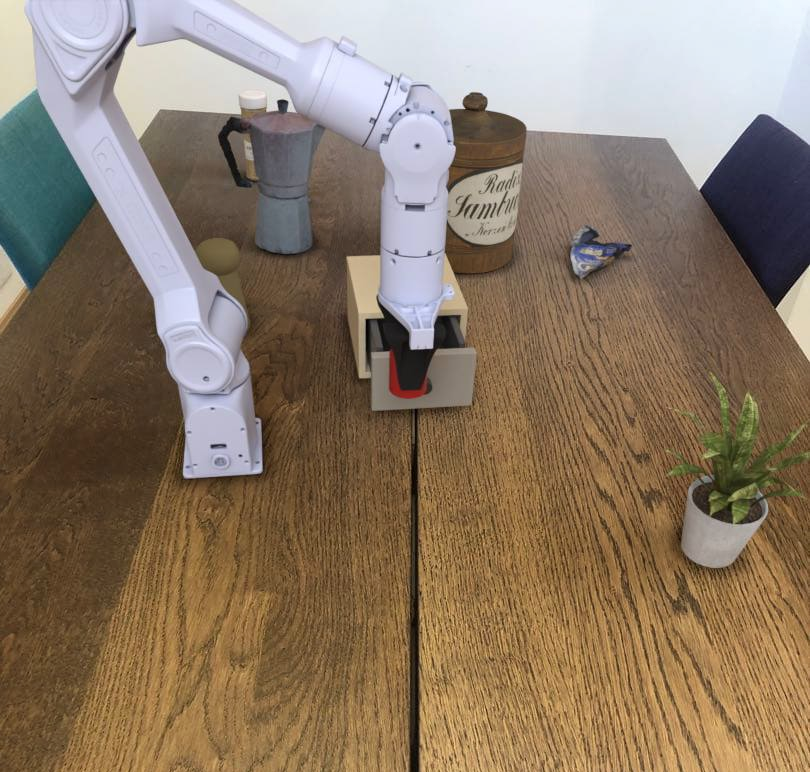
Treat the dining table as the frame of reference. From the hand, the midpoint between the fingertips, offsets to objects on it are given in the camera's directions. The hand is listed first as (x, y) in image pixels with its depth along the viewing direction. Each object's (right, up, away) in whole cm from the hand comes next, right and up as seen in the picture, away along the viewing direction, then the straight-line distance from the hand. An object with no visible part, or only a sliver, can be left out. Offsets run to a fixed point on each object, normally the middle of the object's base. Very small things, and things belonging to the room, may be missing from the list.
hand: (407, 376), depth 81 cm
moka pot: (-19, +28, +43) cm, 55 cm away
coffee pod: (0, -1, +1) cm, 1 cm away
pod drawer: (+1, +3, +15) cm, 15 cm away
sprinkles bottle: (-26, +47, +62) cm, 83 cm away
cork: (-23, +11, +25) cm, 36 cm away
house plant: (+28, -17, -3) cm, 32 cm away
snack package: (+28, +25, +41) cm, 56 cm away
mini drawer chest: (-1, +8, +22) cm, 24 cm away
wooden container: (+9, +27, +43) cm, 51 cm away
